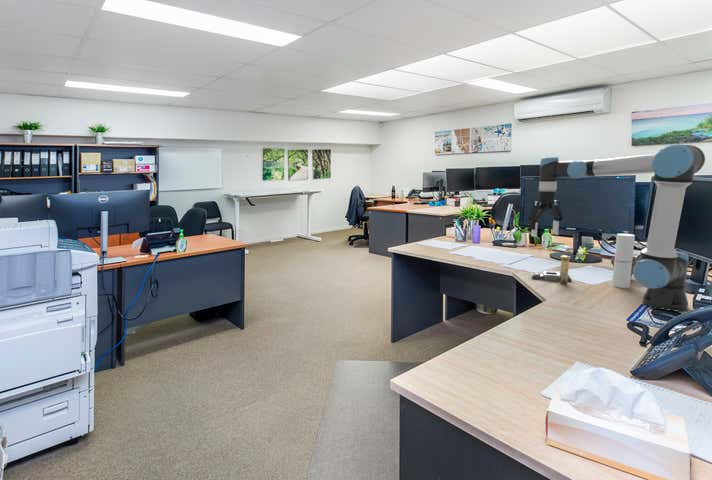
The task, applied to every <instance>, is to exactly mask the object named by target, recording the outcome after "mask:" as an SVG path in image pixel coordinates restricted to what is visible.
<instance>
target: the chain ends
mask: <svg viewBox="0 0 712 480" xmlns="http://www.w3.org/2000/svg"><path fill="white" fill-rule="evenodd" d="M531 278H532V279H533V280H541V279H542V280H544V281H550V282H551V281H552V282H560V273H559V272H558V271H545V270H544V271H543V273H540V272H532V273H531ZM567 282H570V283H571V282H572V276H571V275H569V274H568V281H567Z"/></svg>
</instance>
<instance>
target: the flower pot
mask: <svg viewBox="0 0 712 480" xmlns="http://www.w3.org/2000/svg"><path fill="white" fill-rule="evenodd" d="M614 260H615V257H611V259H610V264H612V266H613V267H612V268H613V269H614ZM637 262H639V259H635V258H633V259H632V269H631V278H630V280H631V279H632V277H633V268H634V266H635V264H636V263H637Z"/></svg>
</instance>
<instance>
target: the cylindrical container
mask: <svg viewBox="0 0 712 480" xmlns="http://www.w3.org/2000/svg"><path fill="white" fill-rule="evenodd" d="M635 237H636V235H635V234H632V233H616V238H615V239H616V241H615V248H614V249H615V252H614V258H615V260H614V268H613V272H612V273H613V274H612V281H611V282H612V284H611V286H612V287H616V288H621V289H628V288H630V286H631V279H632V277H631V269H632V259H634V258H633V257H634V247H635ZM630 278H631V279H630Z"/></svg>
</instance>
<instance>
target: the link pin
mask: <svg viewBox="0 0 712 480" xmlns="http://www.w3.org/2000/svg"><path fill="white" fill-rule="evenodd" d="M559 257H560V259H561V260H560V273H559V275H560V281H559V284H560V285H568V282H569V281H568V275H569V267H570V260H571V256H570V255H560V256H559Z"/></svg>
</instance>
